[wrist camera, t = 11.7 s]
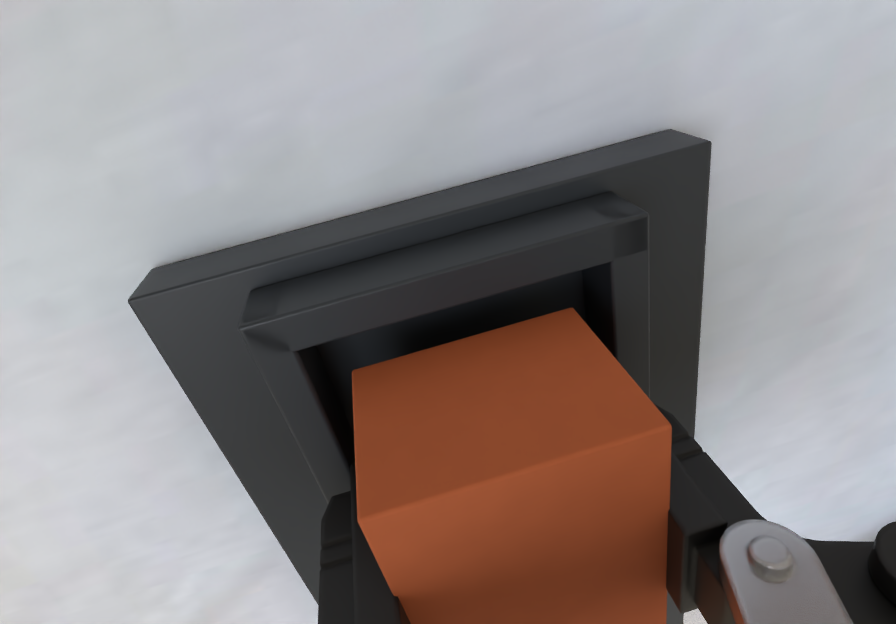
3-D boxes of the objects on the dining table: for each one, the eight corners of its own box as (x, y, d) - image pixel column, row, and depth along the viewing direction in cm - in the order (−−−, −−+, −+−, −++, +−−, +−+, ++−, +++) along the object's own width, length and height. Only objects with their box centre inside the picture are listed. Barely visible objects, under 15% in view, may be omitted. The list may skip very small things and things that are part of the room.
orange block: (350, 369, 10) (355, 522, 7) (572, 305, 10) (673, 424, 7) (423, 553, 13) (449, 714, 10) (591, 501, 13) (667, 642, 10)
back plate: (150, 268, 11) (92, 342, 8) (671, 128, 12) (766, 156, 9) (393, 689, 21) (401, 780, 19) (662, 601, 22) (706, 677, 19)
